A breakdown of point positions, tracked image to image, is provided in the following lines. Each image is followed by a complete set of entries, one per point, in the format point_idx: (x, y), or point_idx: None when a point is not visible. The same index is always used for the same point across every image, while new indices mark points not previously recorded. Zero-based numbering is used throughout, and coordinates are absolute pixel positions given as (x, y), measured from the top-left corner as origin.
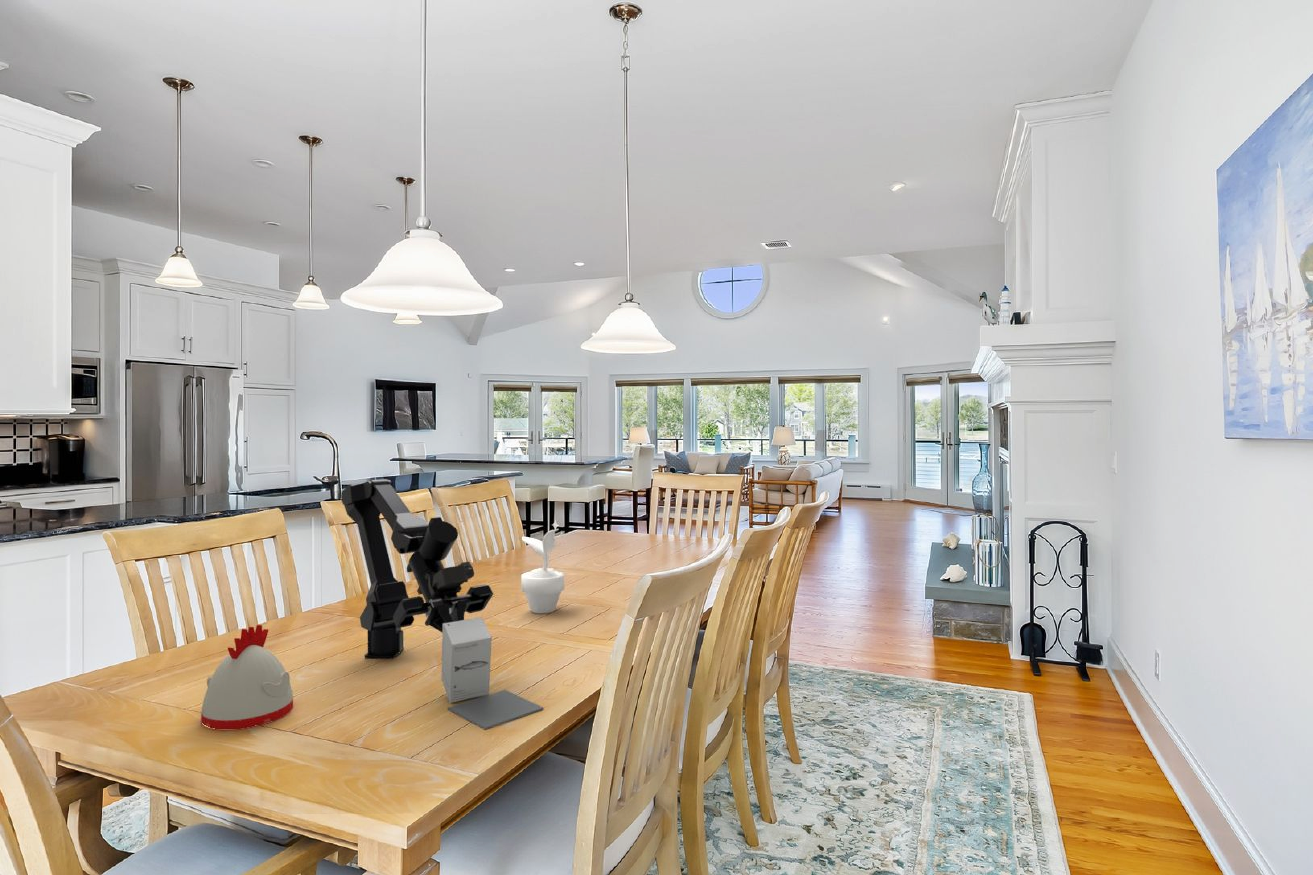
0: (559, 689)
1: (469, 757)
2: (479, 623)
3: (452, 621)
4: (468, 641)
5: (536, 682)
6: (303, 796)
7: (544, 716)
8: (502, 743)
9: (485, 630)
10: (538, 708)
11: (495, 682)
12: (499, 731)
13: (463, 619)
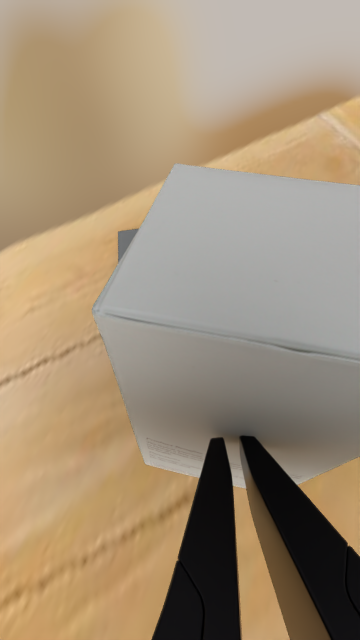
0: (25, 300)
1: (313, 151)
2: (169, 248)
3: (320, 587)
4: (296, 179)
5: (27, 373)
6: None
7: (137, 209)
8: (249, 163)
9: (175, 193)
10: (128, 233)
11: (101, 450)
12: None
13: (173, 598)
